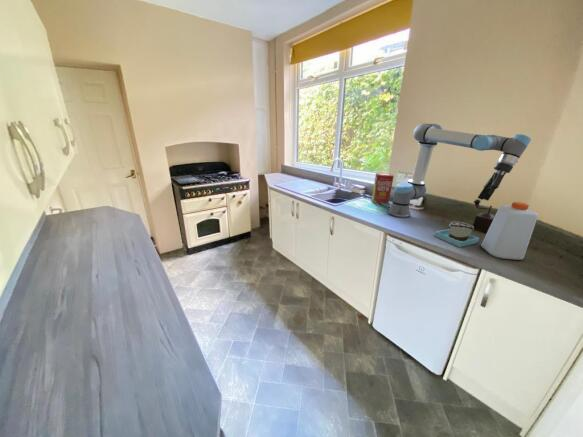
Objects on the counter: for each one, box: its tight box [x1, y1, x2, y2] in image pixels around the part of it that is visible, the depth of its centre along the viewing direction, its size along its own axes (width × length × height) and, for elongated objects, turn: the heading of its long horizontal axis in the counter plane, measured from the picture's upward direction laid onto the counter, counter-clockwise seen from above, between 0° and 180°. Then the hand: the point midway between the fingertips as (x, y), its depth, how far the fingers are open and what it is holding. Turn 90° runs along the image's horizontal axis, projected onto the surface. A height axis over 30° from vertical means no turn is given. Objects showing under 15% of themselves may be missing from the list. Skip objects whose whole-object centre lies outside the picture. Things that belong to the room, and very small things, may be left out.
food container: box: [448, 221, 475, 241], centre depth 139 cm, size 12×6×10 cm, turn 71°
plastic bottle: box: [481, 201, 539, 261], centre depth 121 cm, size 15×15×28 cm
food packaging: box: [371, 172, 394, 205], centre depth 203 cm, size 13×9×25 cm
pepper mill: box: [472, 198, 495, 233], centre depth 156 cm, size 16×11×18 cm
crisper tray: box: [434, 228, 480, 248], centre depth 140 cm, size 15×16×3 cm
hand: (482, 199), depth 135 cm, fingers open, 13 cm apart
